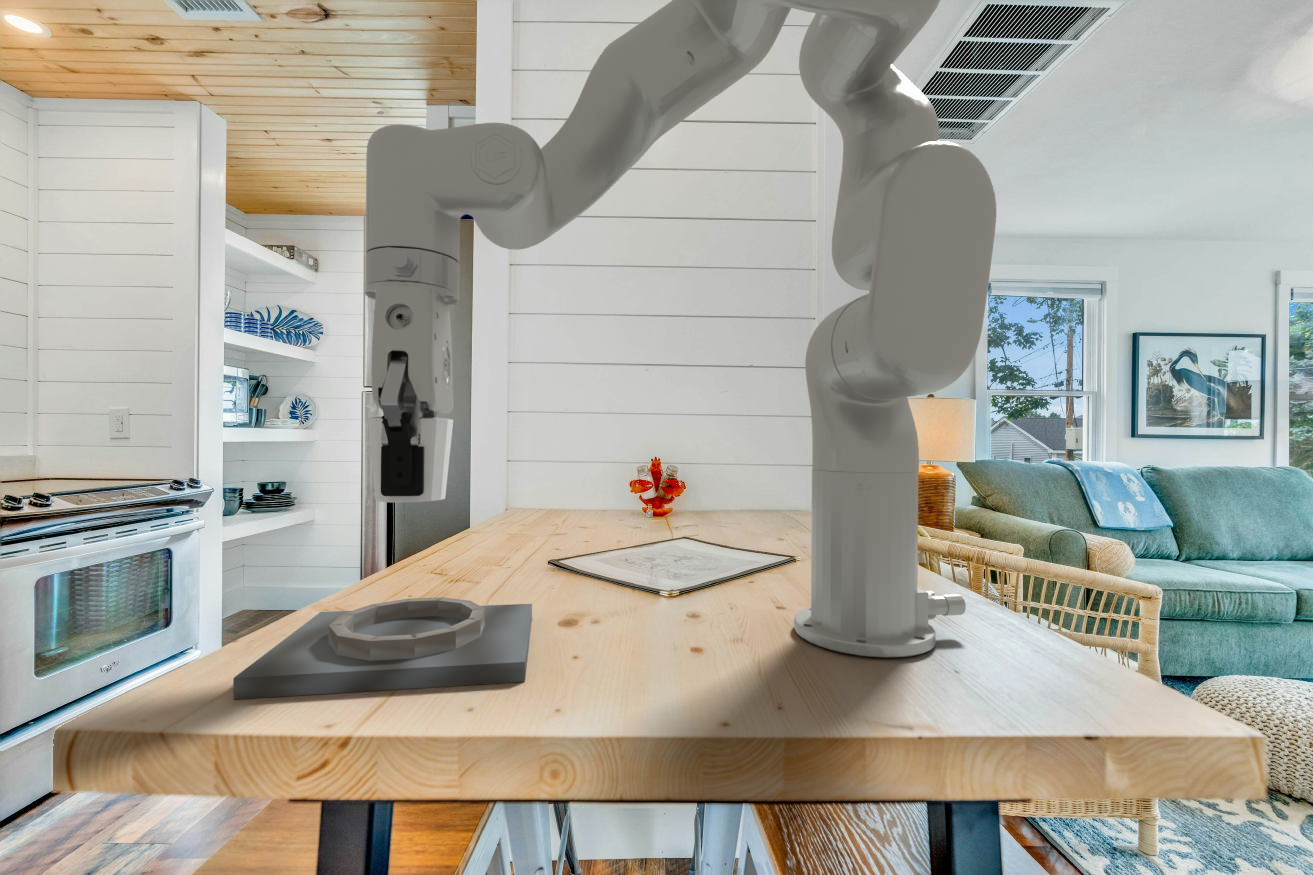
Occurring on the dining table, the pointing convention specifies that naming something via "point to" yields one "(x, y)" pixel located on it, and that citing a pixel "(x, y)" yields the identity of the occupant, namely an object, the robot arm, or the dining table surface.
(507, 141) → the robot arm
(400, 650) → the ring board
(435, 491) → the white cup
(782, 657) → the dining table surface
